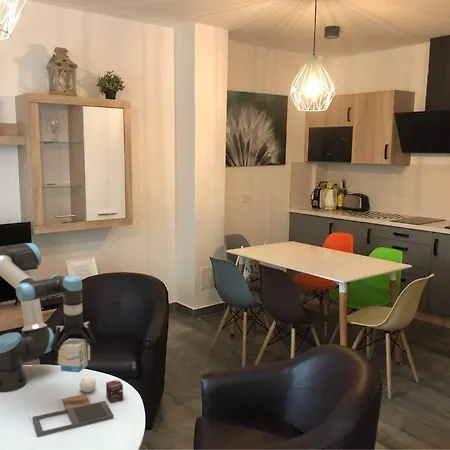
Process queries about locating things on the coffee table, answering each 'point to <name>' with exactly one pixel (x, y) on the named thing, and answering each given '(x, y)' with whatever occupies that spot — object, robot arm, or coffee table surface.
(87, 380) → the ornament
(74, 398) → the pad
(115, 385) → the box
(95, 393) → the coffee table surface
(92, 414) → the grey flat frame
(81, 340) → the ink box
